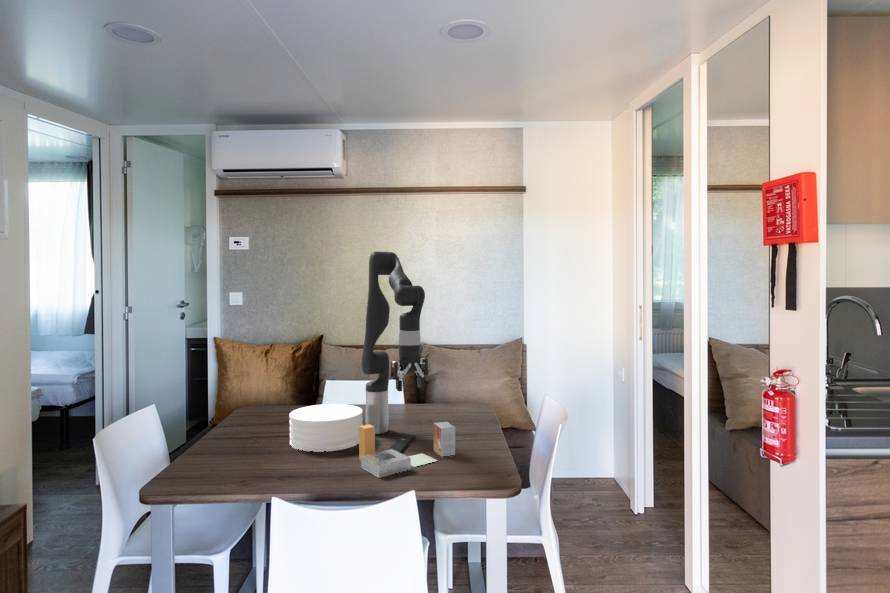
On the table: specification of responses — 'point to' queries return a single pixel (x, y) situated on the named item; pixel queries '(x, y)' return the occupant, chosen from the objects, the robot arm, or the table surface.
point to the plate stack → (325, 427)
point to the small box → (444, 439)
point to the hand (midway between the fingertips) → (409, 389)
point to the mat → (421, 460)
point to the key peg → (366, 440)
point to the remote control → (402, 443)
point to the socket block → (385, 463)
